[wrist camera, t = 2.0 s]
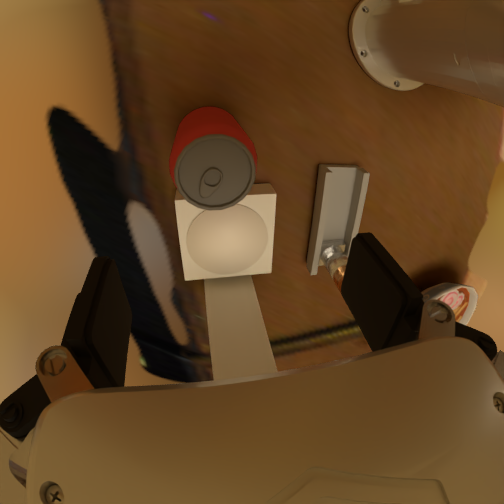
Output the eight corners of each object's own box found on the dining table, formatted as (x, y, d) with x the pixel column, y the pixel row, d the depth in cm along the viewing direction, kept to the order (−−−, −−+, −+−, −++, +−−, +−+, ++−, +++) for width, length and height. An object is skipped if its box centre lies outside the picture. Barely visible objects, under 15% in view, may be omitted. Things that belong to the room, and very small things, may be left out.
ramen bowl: (475, 258, 50) (499, 282, 43) (432, 333, 62) (448, 357, 56) (389, 264, 45) (415, 298, 38) (349, 353, 58) (363, 384, 51)
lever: (318, 241, 38) (356, 302, 29) (342, 239, 39) (383, 297, 29) (315, 260, 40) (349, 322, 31) (338, 258, 40) (375, 317, 31)
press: (174, 170, 31) (153, 349, 12) (358, 165, 34) (496, 287, 15) (189, 293, 41) (200, 458, 22) (336, 277, 44) (408, 410, 25)
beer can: (166, 151, 29) (151, 197, 20) (193, 95, 27) (192, 110, 17) (221, 174, 32) (235, 230, 22) (251, 122, 29) (281, 153, 20)
